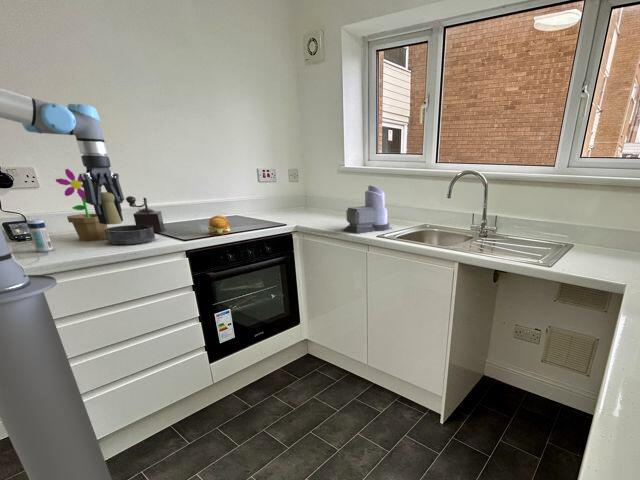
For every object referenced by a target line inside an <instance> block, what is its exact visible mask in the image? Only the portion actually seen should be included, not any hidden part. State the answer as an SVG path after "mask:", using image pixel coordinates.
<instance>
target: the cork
mask: <svg viewBox="0 0 640 480" xmlns="http://www.w3.org/2000/svg"><path fill="white" fill-rule="evenodd" d="M114 200H115V197H114V195H113V194H112V193H108V192H107V191H106V192H105V191H103V192H102V191H101V205H104V208H105V212H106V216H107V220H108V224H107V225H119V224H123V221H121V218H120V216H119V214H118V211H117V209H116V206H115V204H114Z"/></svg>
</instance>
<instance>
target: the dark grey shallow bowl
mask: <svg viewBox="0 0 640 480" xmlns="http://www.w3.org/2000/svg"><path fill="white" fill-rule="evenodd" d="M104 231H105V235H106V238H107V239H106V241H107V244H111V245H125V246H127V245H137V244H138V245H139V244H144V243H149V242H152V241H154V240H156V235H155V233H154V230H153V226H149V225H136V224H126V225H117V226H111V227H107V228H106V229H105V230H104Z"/></svg>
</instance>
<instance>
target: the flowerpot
mask: <svg viewBox="0 0 640 480" xmlns="http://www.w3.org/2000/svg"><path fill="white" fill-rule="evenodd" d="M64 171H65V176H66V177H67V179H66V178H56V179H55V182H56V183H58V184H60V185H63V186H69V187H67V188H66V189H65V190H64V194H63V195H64V196H65V197H68V196H72V195H73V194H74V192H75V190H76V193H77V194H78V196H79V197H80V199H81V201H82V204H78V205H74V206H73V207H72V206H71V208H72V210H77V211H83V210H84V211H85V213H81V214H80V213H79V214H71V215H67V217H66V218H67V221H68V223H71V224H72V225H73V228H74V230H75V232H76V234H77V236H78V238H79V240H80V241H81V242H95V241H102V240H107V238H106V235H105V231H104V230H105V229H106V228H108V224H100V223H99V219H98V215H97V214H96V213H89V210H88V206H87V204H88V203H87V202H86V197H85V193H84V189H83V183H82V180H81V178H80V177H79V176H77V179H76V176H75V174H74V173H73V172H72V171H71V170H70V169H69V168H65V169H64ZM84 173H85V172H83V173H82V174H84ZM68 179H69V180H68Z"/></svg>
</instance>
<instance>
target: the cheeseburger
mask: <svg viewBox="0 0 640 480" xmlns="http://www.w3.org/2000/svg"><path fill="white" fill-rule="evenodd" d="M208 222H209V224H208V226H207V229H208V232H209V234H210V235H213V236H215V235H217V236H219V235H221V236H222V235H228V234H229V233H230V232H231V228H230V226H231V225H230V222H229V220H227V218H226V217H225V216H223V215H218V214H217V215H214V216H211V217H210V218H209V221H208Z"/></svg>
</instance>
